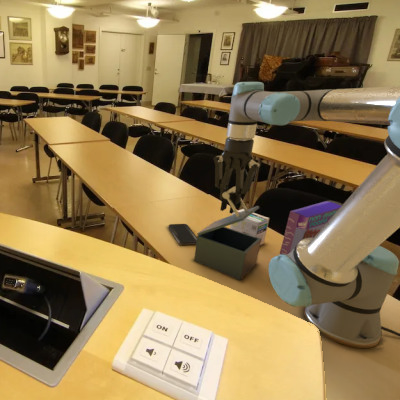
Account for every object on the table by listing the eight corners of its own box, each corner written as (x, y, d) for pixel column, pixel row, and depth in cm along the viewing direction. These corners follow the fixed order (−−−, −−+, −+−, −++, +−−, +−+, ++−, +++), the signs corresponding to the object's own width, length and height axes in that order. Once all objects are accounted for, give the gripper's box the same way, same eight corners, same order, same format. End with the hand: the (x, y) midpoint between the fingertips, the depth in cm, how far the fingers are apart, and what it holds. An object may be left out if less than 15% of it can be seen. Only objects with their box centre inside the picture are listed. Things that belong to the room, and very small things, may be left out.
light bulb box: (264, 243, 119) (270, 217, 115) (254, 249, 116) (259, 222, 112) (238, 232, 128) (242, 208, 124) (227, 237, 124) (232, 212, 120)
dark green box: (256, 264, 107) (261, 238, 104) (240, 280, 100) (245, 253, 96) (211, 247, 118) (215, 223, 114) (194, 260, 110) (197, 235, 106)
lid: (259, 207, 101) (244, 181, 102) (243, 220, 94) (227, 191, 95) (215, 223, 114) (202, 199, 115) (197, 235, 106) (184, 210, 107)
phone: (186, 223, 133) (200, 241, 120) (186, 226, 134) (199, 244, 120) (167, 224, 133) (179, 242, 119) (167, 226, 134) (179, 245, 120)
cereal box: (287, 289, 95) (307, 217, 86) (272, 280, 99) (290, 210, 90) (325, 274, 101) (347, 205, 92) (309, 266, 105) (329, 199, 96)
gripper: (273, 139, 91) (257, 214, 100) (220, 132, 101) (210, 201, 110) (262, 143, 86) (247, 221, 95) (208, 136, 97) (199, 207, 106)
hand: (227, 210), depth 103 cm, fingers closed on lid, 2 cm apart
